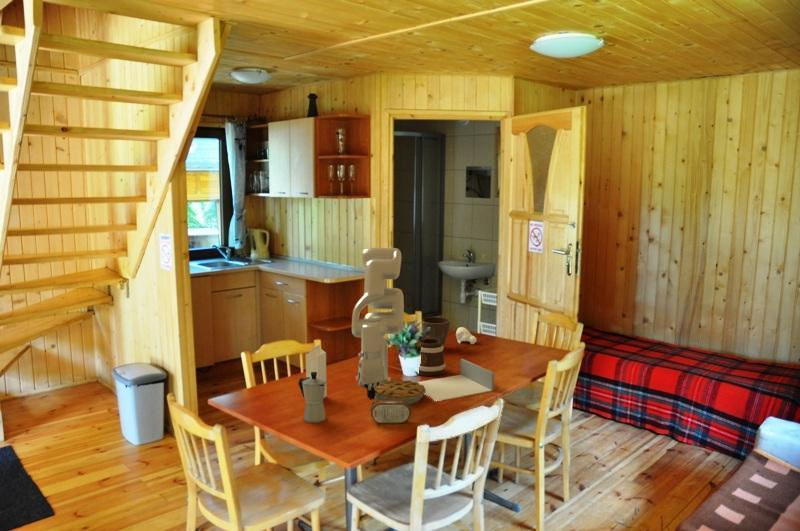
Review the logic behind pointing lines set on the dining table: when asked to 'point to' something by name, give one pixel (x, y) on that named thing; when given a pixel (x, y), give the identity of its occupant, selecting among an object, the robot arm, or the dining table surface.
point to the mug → (432, 358)
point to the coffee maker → (313, 398)
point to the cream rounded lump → (464, 335)
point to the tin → (390, 411)
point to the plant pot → (437, 328)
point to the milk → (316, 364)
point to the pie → (400, 391)
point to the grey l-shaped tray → (460, 383)
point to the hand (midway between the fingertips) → (371, 398)
